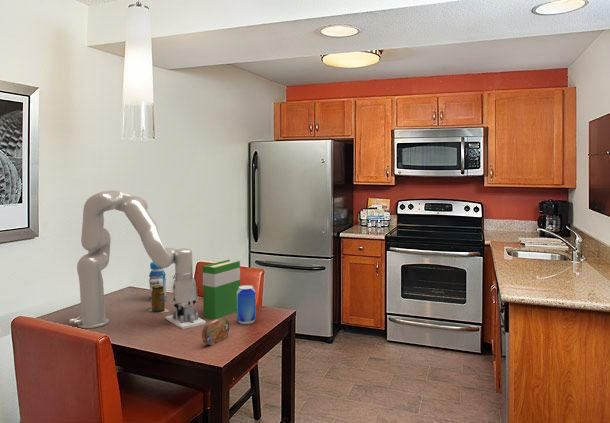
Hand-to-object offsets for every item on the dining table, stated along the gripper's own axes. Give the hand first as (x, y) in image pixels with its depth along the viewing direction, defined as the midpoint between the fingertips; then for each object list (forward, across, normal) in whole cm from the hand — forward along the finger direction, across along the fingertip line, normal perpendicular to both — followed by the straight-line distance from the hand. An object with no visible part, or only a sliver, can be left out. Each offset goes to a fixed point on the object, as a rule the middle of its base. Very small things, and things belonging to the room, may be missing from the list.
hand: (184, 315), depth 211 cm
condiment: (+3, -3, +23) cm, 23 cm away
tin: (+3, -1, -30) cm, 30 cm away
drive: (+1, 0, 0) cm, 1 cm away
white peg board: (+3, 0, 0) cm, 3 cm away
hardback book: (+3, +19, 0) cm, 19 cm away
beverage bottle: (+3, +4, +41) cm, 41 cm away
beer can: (+3, +21, -18) cm, 28 cm away
